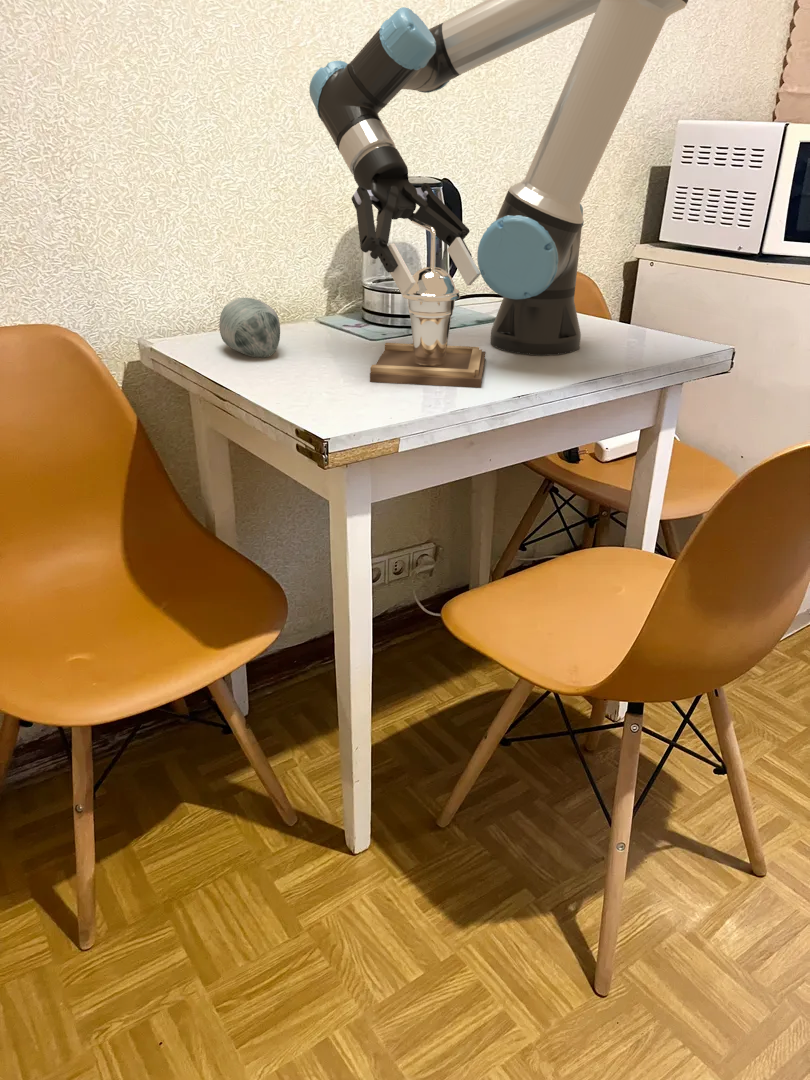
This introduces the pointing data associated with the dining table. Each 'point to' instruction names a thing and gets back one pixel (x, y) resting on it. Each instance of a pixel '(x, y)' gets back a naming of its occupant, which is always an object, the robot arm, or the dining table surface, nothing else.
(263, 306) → the spool
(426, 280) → the cup with straw
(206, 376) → the dining table surface
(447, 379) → the brown flat square tray
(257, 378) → the dining table surface
